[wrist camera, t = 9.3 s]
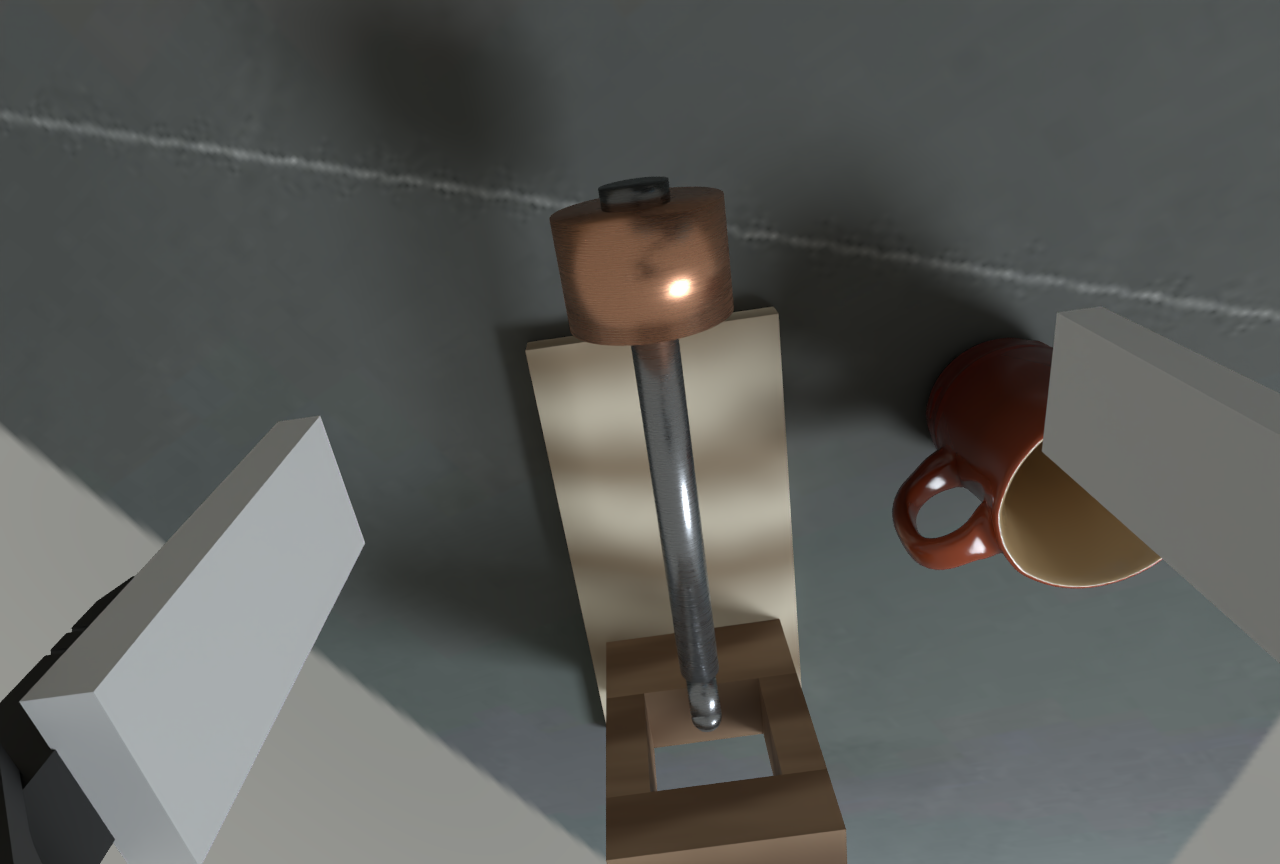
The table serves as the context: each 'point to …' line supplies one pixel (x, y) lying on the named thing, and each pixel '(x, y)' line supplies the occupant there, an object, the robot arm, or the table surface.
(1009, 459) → the mug
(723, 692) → the eye block
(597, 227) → the copper and grey mallet
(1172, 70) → the table surface
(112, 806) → the robot arm
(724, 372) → the board
